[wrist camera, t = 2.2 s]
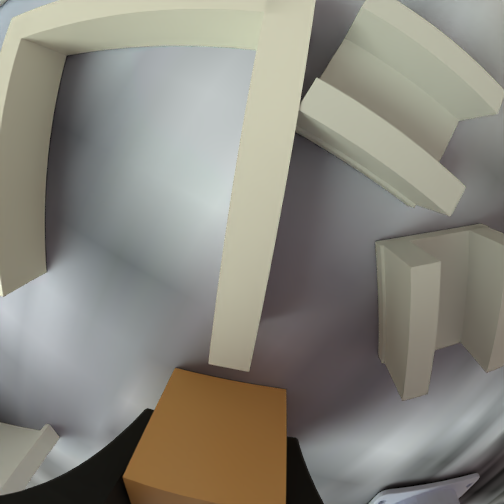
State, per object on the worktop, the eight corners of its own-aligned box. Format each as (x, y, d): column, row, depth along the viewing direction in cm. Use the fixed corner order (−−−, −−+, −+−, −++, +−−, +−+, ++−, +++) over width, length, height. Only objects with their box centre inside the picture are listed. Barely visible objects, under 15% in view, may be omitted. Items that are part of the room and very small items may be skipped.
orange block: (256, 474, 12) (247, 561, 7) (173, 457, 12) (145, 540, 7) (286, 389, 10) (285, 511, 5) (175, 367, 10) (122, 477, 5)
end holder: (256, 323, 9) (249, 371, 7) (29, 267, 10) (-13, 289, 7) (308, 29, 7) (317, -14, 5) (54, 36, 7) (12, 18, 5)
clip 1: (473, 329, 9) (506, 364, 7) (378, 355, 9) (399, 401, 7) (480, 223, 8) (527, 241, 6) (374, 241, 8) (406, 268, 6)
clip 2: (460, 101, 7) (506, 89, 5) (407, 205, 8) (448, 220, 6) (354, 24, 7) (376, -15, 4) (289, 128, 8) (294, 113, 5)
